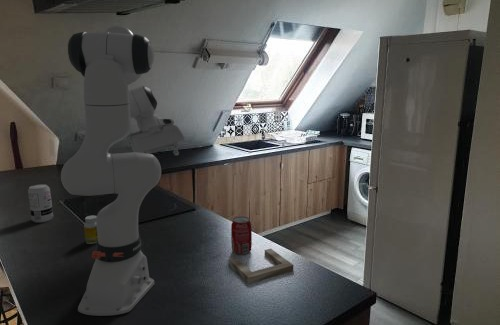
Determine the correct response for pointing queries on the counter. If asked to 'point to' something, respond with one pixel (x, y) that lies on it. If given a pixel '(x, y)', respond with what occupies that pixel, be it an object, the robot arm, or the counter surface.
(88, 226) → the supplement bottle
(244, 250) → the soda can
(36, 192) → the supplement can
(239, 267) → the birch bay
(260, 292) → the counter surface
